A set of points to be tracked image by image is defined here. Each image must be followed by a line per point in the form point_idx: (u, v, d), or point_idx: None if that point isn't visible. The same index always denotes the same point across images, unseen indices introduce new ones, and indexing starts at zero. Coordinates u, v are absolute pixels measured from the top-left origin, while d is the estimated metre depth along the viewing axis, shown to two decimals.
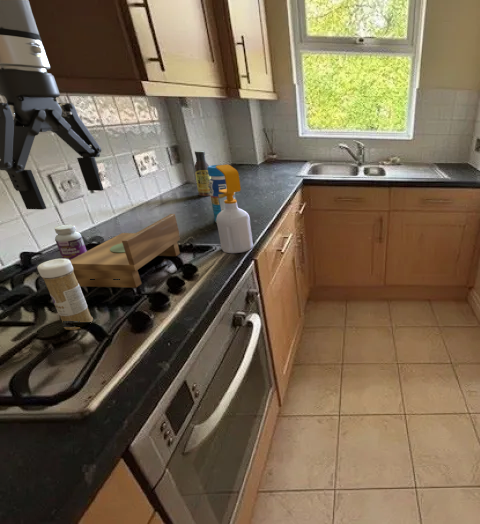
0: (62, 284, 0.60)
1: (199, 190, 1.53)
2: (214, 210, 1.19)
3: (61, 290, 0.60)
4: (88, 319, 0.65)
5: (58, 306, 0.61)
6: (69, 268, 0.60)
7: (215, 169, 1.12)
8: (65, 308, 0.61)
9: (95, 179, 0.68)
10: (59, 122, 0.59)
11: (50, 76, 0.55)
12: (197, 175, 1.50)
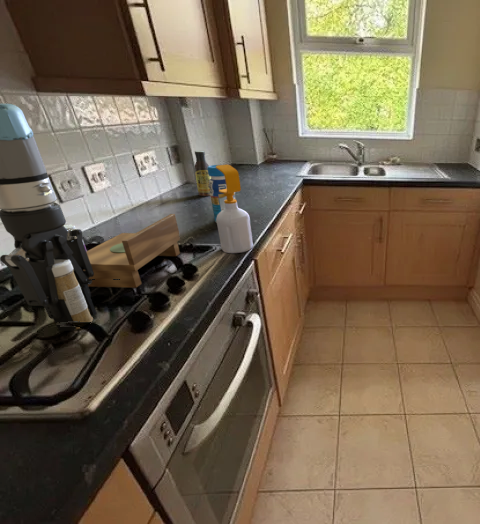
0: (62, 284, 0.60)
1: (199, 190, 1.53)
2: (214, 210, 1.19)
3: (61, 290, 0.60)
4: (88, 319, 0.65)
5: None
6: (69, 268, 0.60)
7: (215, 169, 1.12)
8: None
9: (87, 305, 0.66)
10: (65, 245, 0.60)
11: (57, 209, 0.56)
12: (197, 175, 1.50)
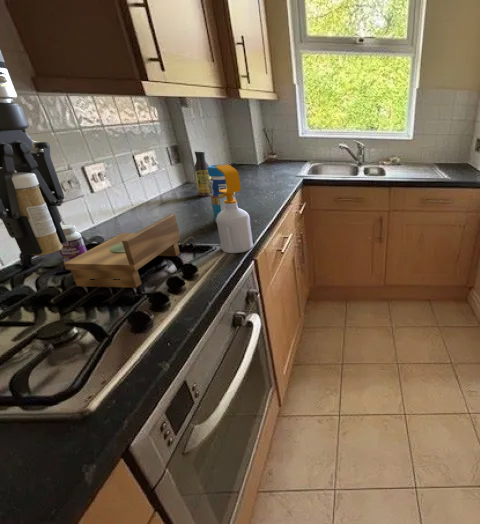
0: (25, 198, 0.53)
1: (199, 190, 1.53)
2: (214, 210, 1.19)
3: (24, 206, 0.53)
4: (56, 245, 0.58)
5: None
6: (33, 181, 0.53)
7: (215, 169, 1.12)
8: None
9: (56, 231, 0.59)
10: (28, 155, 0.53)
11: (16, 107, 0.49)
12: (197, 175, 1.50)
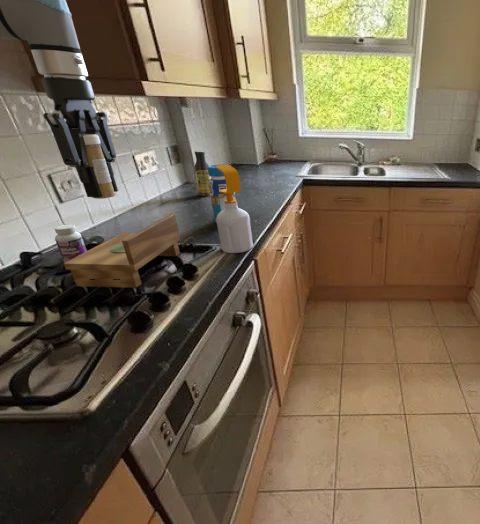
0: (92, 153, 0.70)
1: (199, 190, 1.53)
2: (214, 210, 1.19)
3: (90, 158, 0.71)
4: (112, 192, 0.76)
5: None
6: (97, 140, 0.71)
7: (215, 169, 1.12)
8: None
9: (111, 181, 0.77)
10: (94, 120, 0.71)
11: (88, 83, 0.67)
12: (197, 175, 1.50)
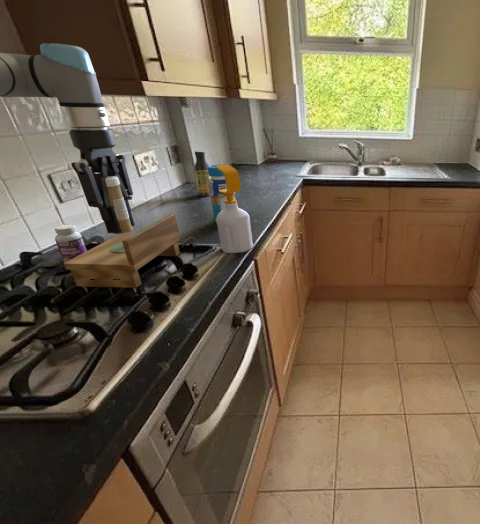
0: (112, 194, 0.77)
1: (199, 190, 1.53)
2: (214, 210, 1.19)
3: (111, 199, 0.77)
4: (130, 227, 0.82)
5: None
6: (117, 182, 0.78)
7: (215, 169, 1.12)
8: None
9: None
10: (114, 164, 0.78)
11: (110, 132, 0.74)
12: (197, 175, 1.50)
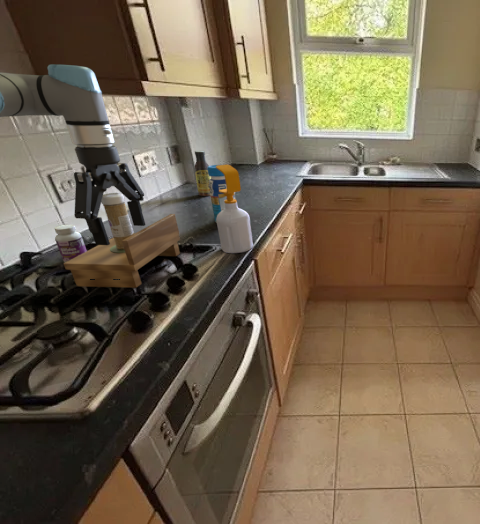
0: (117, 211, 0.79)
1: (199, 190, 1.53)
2: (214, 210, 1.19)
3: (116, 216, 0.79)
4: None
5: (114, 228, 0.80)
6: (122, 199, 0.80)
7: (215, 169, 1.12)
8: (119, 231, 0.81)
9: (140, 217, 0.88)
10: (118, 179, 0.79)
11: (115, 149, 0.75)
12: (197, 175, 1.50)
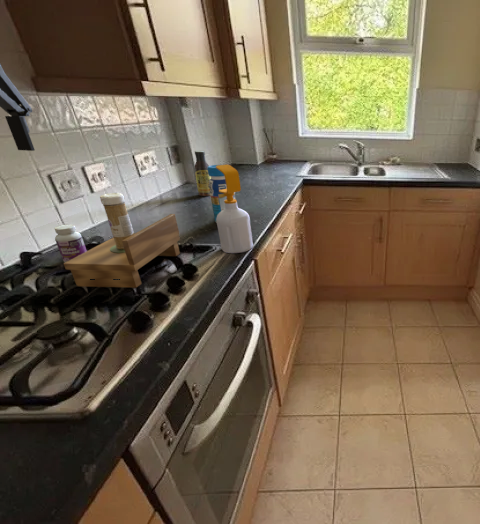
0: (117, 211, 0.79)
1: (199, 190, 1.53)
2: (214, 210, 1.19)
3: (116, 216, 0.79)
4: None
5: (114, 228, 0.80)
6: (122, 199, 0.80)
7: (215, 169, 1.12)
8: (119, 231, 0.81)
9: (25, 138, 0.68)
10: None
11: None
12: (197, 175, 1.50)
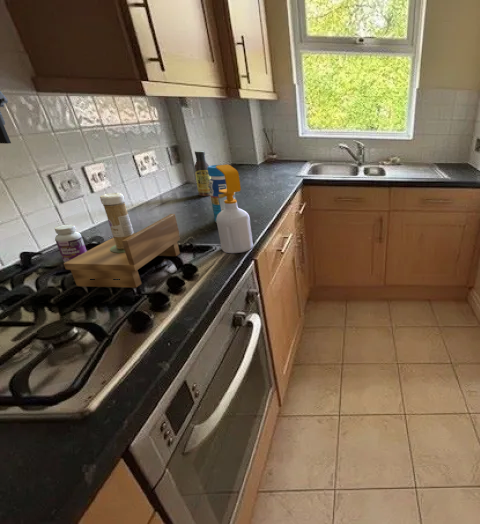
0: (117, 211, 0.79)
1: (199, 190, 1.53)
2: (214, 210, 1.19)
3: (116, 216, 0.79)
4: None
5: (114, 228, 0.80)
6: (122, 199, 0.80)
7: (215, 169, 1.12)
8: (119, 231, 0.81)
9: (0, 131, 0.65)
10: None
11: None
12: (197, 175, 1.50)
